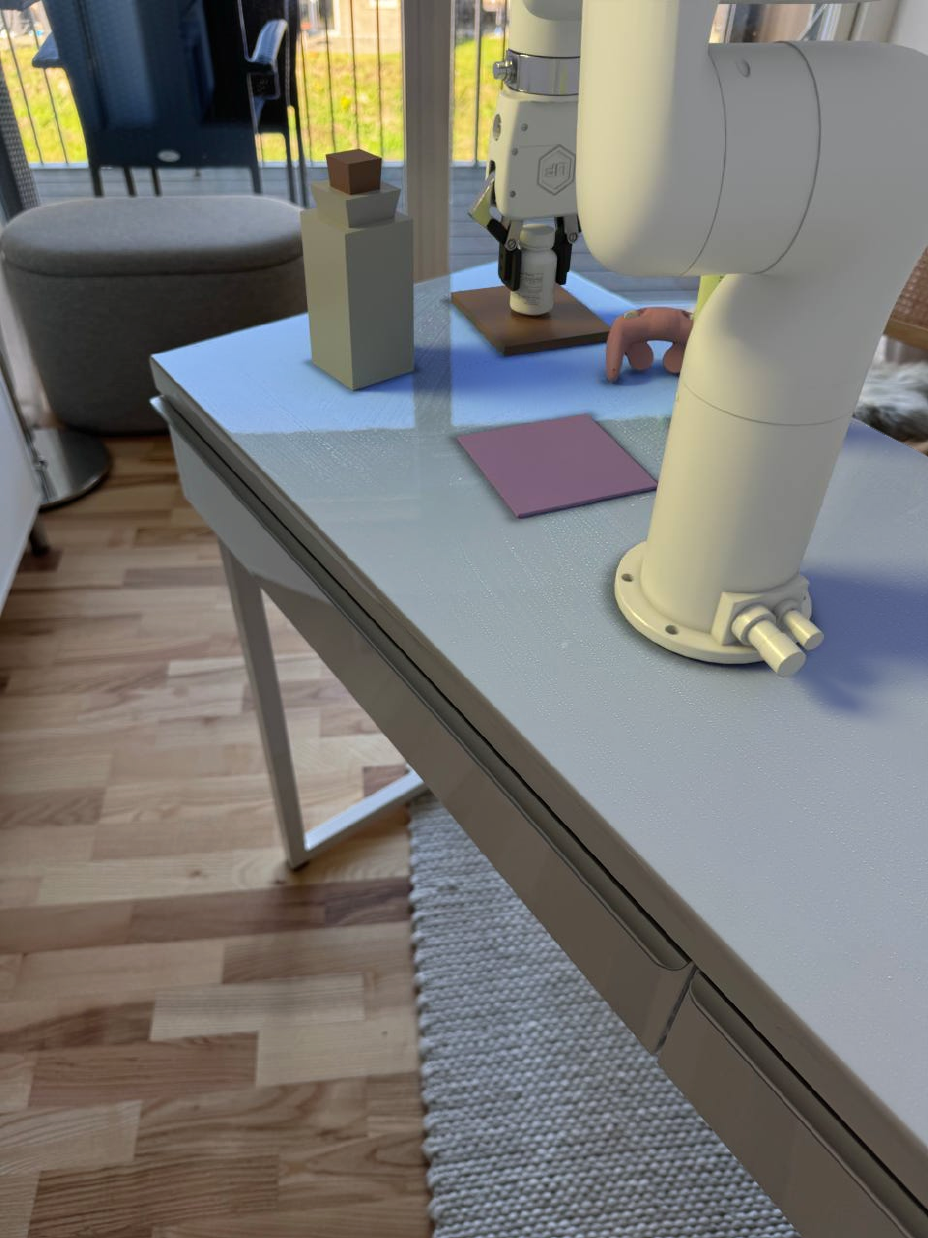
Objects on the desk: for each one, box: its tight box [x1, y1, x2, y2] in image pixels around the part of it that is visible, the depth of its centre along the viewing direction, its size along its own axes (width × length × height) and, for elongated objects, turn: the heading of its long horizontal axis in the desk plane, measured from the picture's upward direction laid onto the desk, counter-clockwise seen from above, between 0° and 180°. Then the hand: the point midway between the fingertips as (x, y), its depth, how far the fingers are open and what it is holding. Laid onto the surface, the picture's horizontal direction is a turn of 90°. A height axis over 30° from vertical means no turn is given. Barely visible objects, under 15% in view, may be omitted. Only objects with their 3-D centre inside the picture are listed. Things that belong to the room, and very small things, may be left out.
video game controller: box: [605, 306, 695, 383], centre depth 84 cm, size 10×5×7 cm, turn 84°
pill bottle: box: [510, 223, 557, 315], centre depth 91 cm, size 4×4×8 cm
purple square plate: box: [456, 413, 658, 519], centre depth 73 cm, size 12×12×1 cm
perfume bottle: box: [299, 148, 415, 392], centre depth 79 cm, size 7×7×18 cm
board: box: [450, 282, 612, 357], centre depth 94 cm, size 14×12×1 cm
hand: (533, 281), depth 92 cm, fingers closed on pill bottle, 4 cm apart
